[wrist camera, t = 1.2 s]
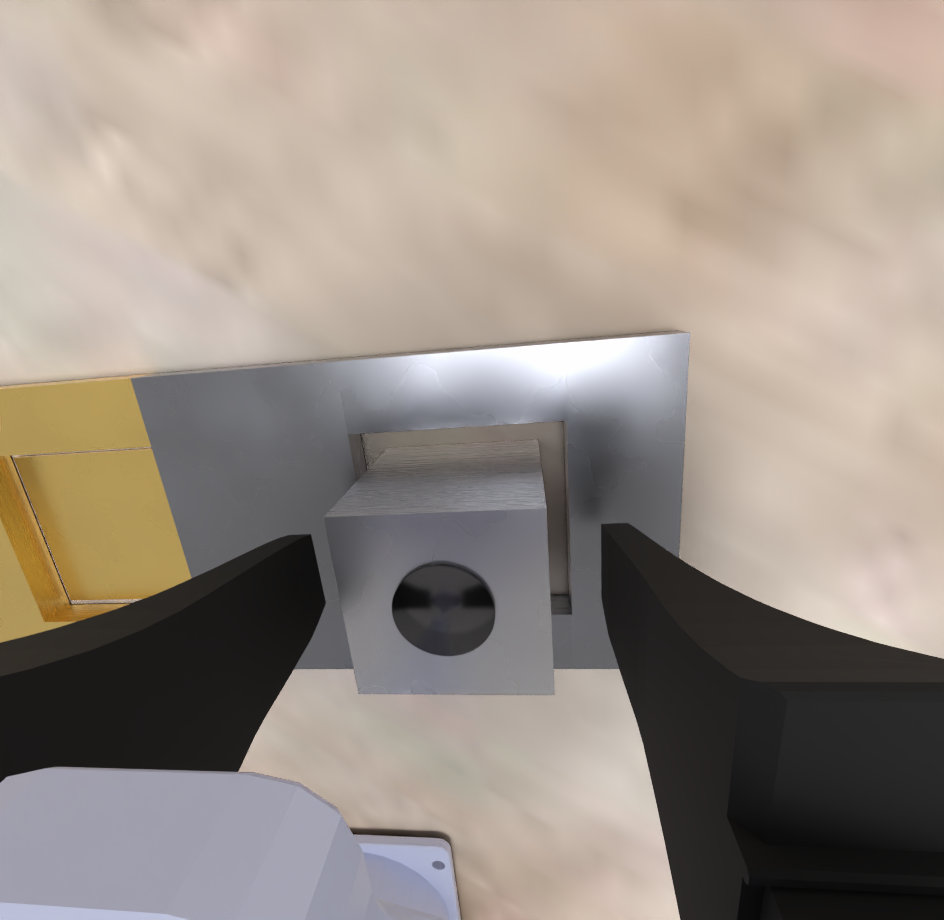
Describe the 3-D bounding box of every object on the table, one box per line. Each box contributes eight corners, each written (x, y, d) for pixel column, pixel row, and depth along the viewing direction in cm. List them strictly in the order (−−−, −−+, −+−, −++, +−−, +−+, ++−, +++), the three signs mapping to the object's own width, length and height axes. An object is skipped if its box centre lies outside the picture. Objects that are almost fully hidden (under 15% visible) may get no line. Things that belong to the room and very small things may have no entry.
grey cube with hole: (544, 573, 15) (555, 699, 10) (407, 577, 16) (356, 697, 11) (538, 438, 14) (546, 510, 9) (388, 447, 14) (321, 519, 10)
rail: (664, 646, 16) (673, 668, 15) (19, 650, 18) (-8, 669, 18) (677, 330, 13) (689, 332, 12) (-98, 394, 15) (-139, 400, 14)
